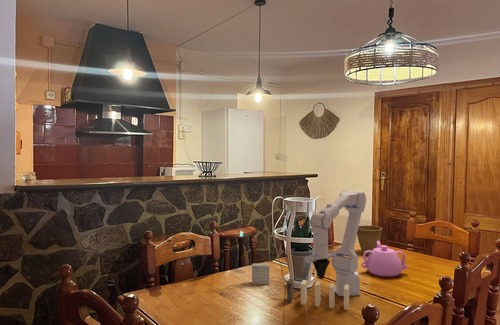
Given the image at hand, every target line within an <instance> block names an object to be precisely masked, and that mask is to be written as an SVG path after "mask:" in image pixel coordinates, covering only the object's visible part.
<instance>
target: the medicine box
mask: <svg viewBox="0 0 500 325" xmlns="http://www.w3.org/2000/svg"><path fill="white" fill-rule="evenodd" d="M251 283H252V286H254V285H255V286H257V285H261V286H262V285H263V286H264V285H270V264H269V263H266V262H265V263H264V262H262V263H260V262H259V263H252V264H251Z"/></svg>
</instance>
